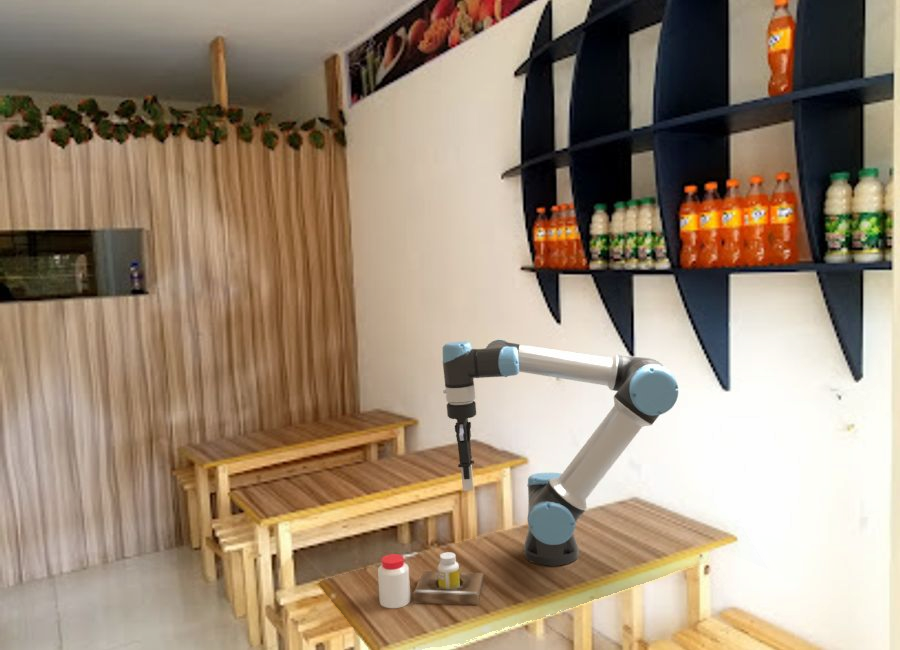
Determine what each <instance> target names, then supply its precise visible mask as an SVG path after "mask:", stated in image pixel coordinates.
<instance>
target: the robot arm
mask: <svg viewBox="0 0 900 650" xmlns="http://www.w3.org/2000/svg"><path fill="white" fill-rule="evenodd" d="M442 367H443V369H442V370H443V379H444V386H445V387H444V388H445V389H444V390H443V394H446V395H445V400H446V402H447V404H446V411H447V418H449V419H451V420H456V422H455V425H454V431H455V434H456V435H455V437H456V442H457V450H458V458H459V459H458V460H459V463H458V464H457V468H460V472H461V483H462V491H463V492H466V491H468V492H469V491H474V489H475V488H474V477H473V475H474V474H473V468H472V467H473V466H472V464H475V460H472V458H473V456H472V448H471V437H472V434H471V429H472V422H471V421H469V419H471V418H473V417H476V416H477V406H476V405H477V404H476V402H475V399H476V390H475V389H476V388H475V383H474V379H481V378H482V379H483V378H498V377H499V378H501V377H502V378H503V377H504V378H508V377H511V376H512V377H513V376H517V375H519V373H525V374H531V375H537V376H538V375H539V376H544V377H550V378H551V377H552V378H555V379H556V378H557V379H563V380H569V381H575V382H583V383H588V384H595V385H601V386H606V387H608V389H609V390H610V391H615V392H616V393H614V395H613V402H614V406H612V408H611V409H610V411H609V412H608V413H607V414H606V415H605V417H604V419H603V420H602V421H601V423H600V424H598V427H597V428H596V429H595V430H594V432H593V433H592V434H591V435H590V437H588V440H587V441H586V442H585V443H584V444H583V446H582V447H581V449H580V450H579V451H578V452H577V454H576V455H575V456H574V458H573V459H572V461H571V462H570V463H569V464H568V465H567V467H566V468H565V469H564V471H563V472H562V473H561V472H560V473H559V472H538V473H533V474H531V475H529V476H528V478H527V491H528V493H527V494H528V496H527V498H528V500H527V501H528V511H527V524H528V527H529V528H528V532H527V535H526V539H525V542H524V546H523V551H524V553H523V554H524V557H525V558H526V560H528V561H529V562H531V563H534V564H537V565H541V566H547V567H548V566H551V567H553V566H554V567H555V566H556V567H557V566H564V565H567V564H570V563H573V562H575V561H576V560H577V559H578V558H579V546H578V543H577V539H576V537H575V534H574V533H575V529H576V523H577V522H578V520H579V519H580V518H581V517H582V516H583V514H584V513H585V511H586V510H587V508H588V507H587V499H588V497H589V496H590V495H591V493H592V492H593V491H594V490H595V488H596V487H597V486H598V484H599V483H600V482H601V480H602V479H603V478H604V477H605V475H606V474H607V473H608V472H609V470H610V469H611V468H612V467H613V466H614V464H615V463H616V461H618V459H619V458H620V456H622V454H623V452H624V451H625V450H626V448H627V447H628V446H629V445H630V443H631V442H632V441H633V439H634V438H635V437H636V436H637V435H638V433H639V432H640V431H641V429H643V427H648V426H653V424H654V423H655V422H656V421H657V419H658V417H660V415H664V414H666V413H667V412H669V411H670V410H672V408H673V407H674V405H676V403H677V400H678V397H679V385H678V382H677V379H676V377H675V375H674V374H673V373H672V371H670V370H669V369H668V368H666V367H665V366H664V365H663V364H662V363H660V362H659V361H658V360H655V359H654V358H653V359H652V358H649V357H640V356H639V357H637V356H629V355H628V356H626V355H619V354H614V355H613V356H612V357H607V356H601V355H600V356H599V355H593V354H587V353H586V354H585V353H580V352H573V351H569V350H568V351H566V350H561V349H554V348H547V347H541V346H533V345H527V344H523V343H522V344H521V343H520V344H519V343H516V342H515V343H513V342H509V341H506V340H504V339H495V340H493V341H490V342H489V343H488V344H487V346H486V348H473V347H472V345H471V343H470V342H469V341H451V342H448V343H445V344H444V345H443V346H442Z"/></svg>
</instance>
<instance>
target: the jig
mask: <svg viewBox="0 0 900 650" xmlns="http://www.w3.org/2000/svg"><path fill="white" fill-rule="evenodd" d="M459 577H460V587H458V588H455V589H441V588H439V581H438V571H433V570H432V571H430V570H428V571H426V570H425V571H424V570H423V571H422V573H421V575H420V578H419V579H418V582H417V583H416V586H415V589H414V591H413V594H412V595H413V596H412V597H413V603H414V604H415V603H416V604H436V605H437V604H439V605H443V604H444V605H461V606H462V605H464V606H478V605H479V603H480V598H481V594H482V591H483V586H484V581H485V580H484V572H460V571H459Z"/></svg>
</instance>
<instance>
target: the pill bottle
mask: <svg viewBox="0 0 900 650" xmlns="http://www.w3.org/2000/svg"><path fill="white" fill-rule="evenodd" d="M377 582H378V597H379V598H378V599H379V604H380V605H381V606H382V607H384V608H385V609H399V608H403V607H405V606H407V605H408V604H410V602H411V587H410V586H411V584H410V583H411V582H410V567H409V565H408V564H407V563H406V562H405V558H404V555H401V554H398V553H391V554H387V555H384V556H383V557H382V558H381V565H379V567H378V568H377Z"/></svg>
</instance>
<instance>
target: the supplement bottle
mask: <svg viewBox="0 0 900 650" xmlns="http://www.w3.org/2000/svg"><path fill="white" fill-rule="evenodd" d="M456 555H457V554H455V553H454V552H451V551H447V552H443V553H440V554H439V561H440V562H439V564H438V565H437V572H438V581H439V588H441V589H455V588H458V587H460V577H459V572H460V565H459V563H458V561H456V560H457V557H456Z"/></svg>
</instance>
